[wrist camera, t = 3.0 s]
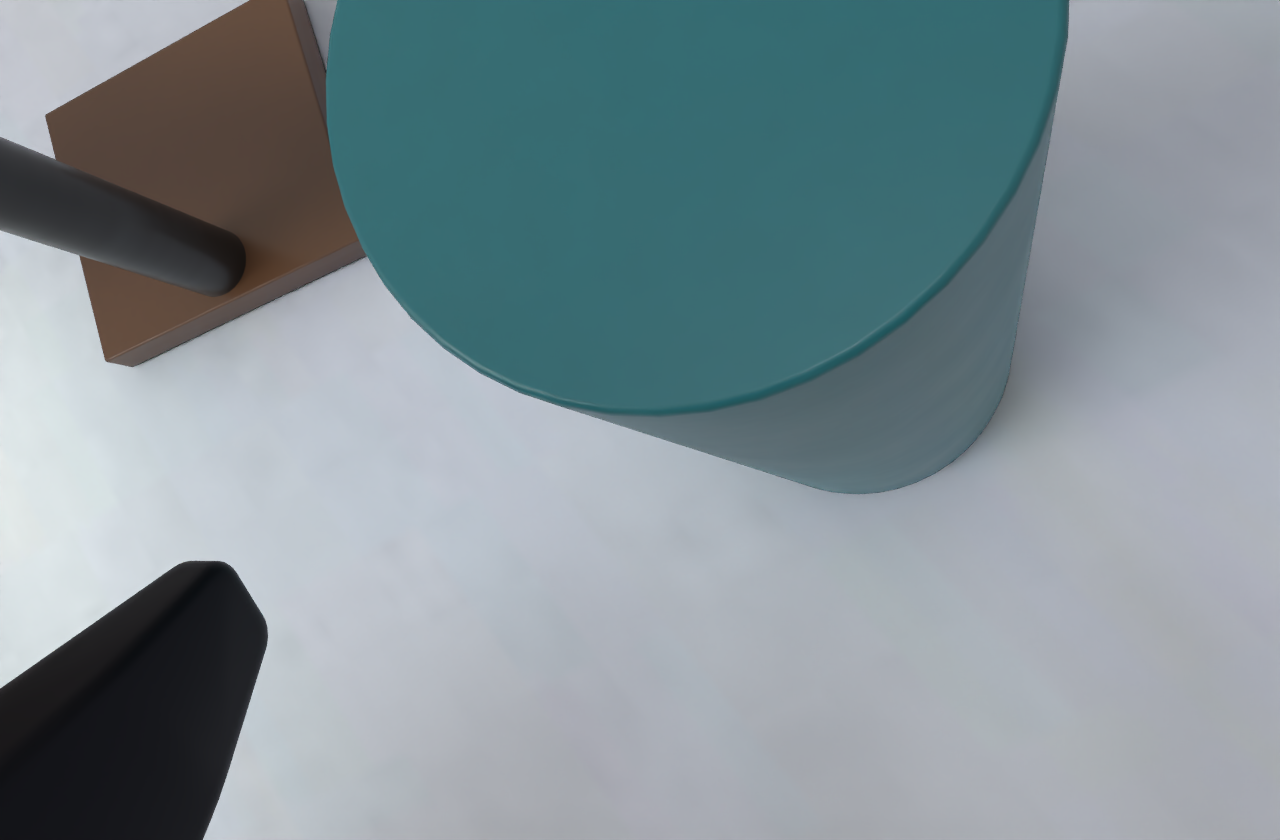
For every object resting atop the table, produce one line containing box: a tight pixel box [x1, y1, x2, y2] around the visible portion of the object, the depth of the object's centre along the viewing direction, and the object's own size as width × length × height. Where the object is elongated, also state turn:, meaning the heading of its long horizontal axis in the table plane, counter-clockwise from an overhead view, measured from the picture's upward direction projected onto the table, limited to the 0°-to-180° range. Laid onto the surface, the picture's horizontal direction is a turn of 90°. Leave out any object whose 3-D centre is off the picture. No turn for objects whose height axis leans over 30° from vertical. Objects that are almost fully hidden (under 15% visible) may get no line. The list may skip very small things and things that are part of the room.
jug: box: [326, 0, 1069, 494], centre depth 14 cm, size 10×5×12 cm, turn 179°
